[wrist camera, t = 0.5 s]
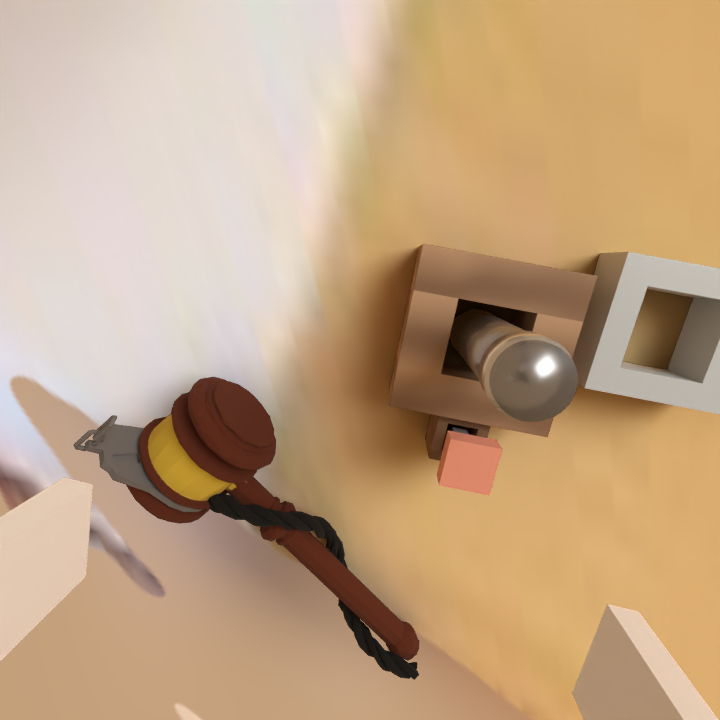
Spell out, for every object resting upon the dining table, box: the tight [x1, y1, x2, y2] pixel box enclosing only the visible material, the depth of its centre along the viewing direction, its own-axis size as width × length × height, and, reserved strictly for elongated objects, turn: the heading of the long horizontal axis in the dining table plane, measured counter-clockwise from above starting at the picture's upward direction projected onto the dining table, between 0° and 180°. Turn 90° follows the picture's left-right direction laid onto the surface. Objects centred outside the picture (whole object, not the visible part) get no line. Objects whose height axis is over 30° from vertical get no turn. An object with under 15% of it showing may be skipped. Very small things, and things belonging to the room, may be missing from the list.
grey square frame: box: [572, 252, 720, 414], centre depth 32 cm, size 10×10×4 cm
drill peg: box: [450, 309, 578, 422], centre depth 27 cm, size 4×4×15 cm
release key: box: [437, 427, 502, 495], centre depth 31 cm, size 4×4×6 cm
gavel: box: [74, 377, 419, 679], centre depth 36 cm, size 10×34×10 cm
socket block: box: [389, 244, 598, 460], centre depth 33 cm, size 16×12×5 cm
